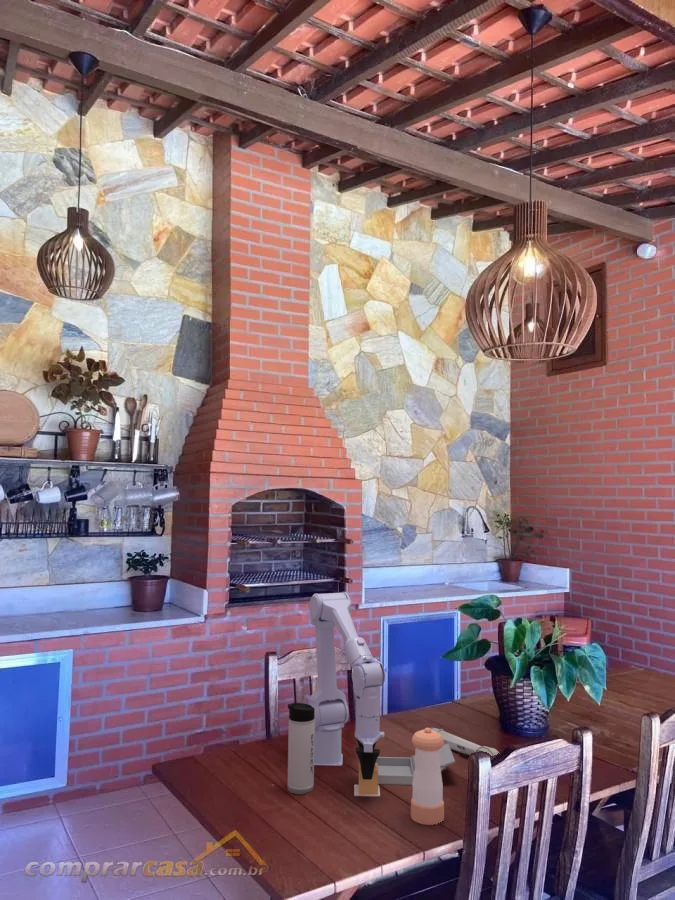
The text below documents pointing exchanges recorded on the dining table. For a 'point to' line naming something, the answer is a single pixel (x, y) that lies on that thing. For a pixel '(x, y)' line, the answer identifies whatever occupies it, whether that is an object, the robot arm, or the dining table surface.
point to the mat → (356, 793)
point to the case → (406, 767)
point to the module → (368, 782)
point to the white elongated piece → (463, 744)
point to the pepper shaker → (427, 778)
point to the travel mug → (301, 748)
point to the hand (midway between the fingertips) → (366, 772)
